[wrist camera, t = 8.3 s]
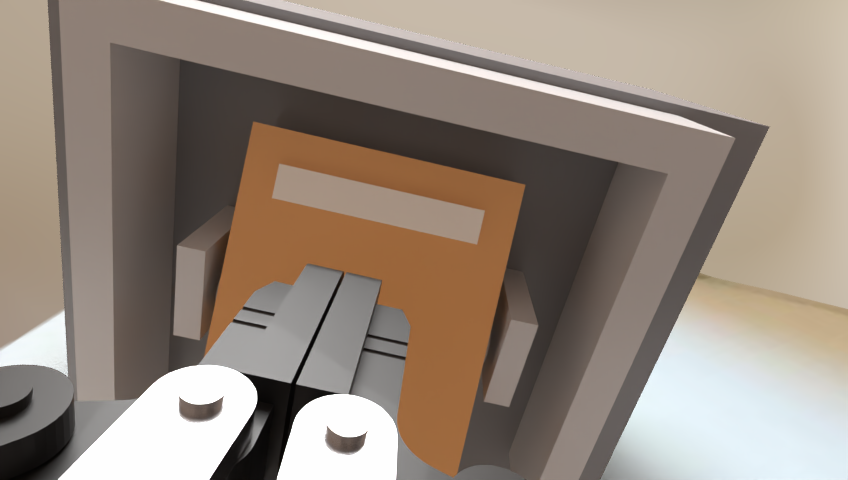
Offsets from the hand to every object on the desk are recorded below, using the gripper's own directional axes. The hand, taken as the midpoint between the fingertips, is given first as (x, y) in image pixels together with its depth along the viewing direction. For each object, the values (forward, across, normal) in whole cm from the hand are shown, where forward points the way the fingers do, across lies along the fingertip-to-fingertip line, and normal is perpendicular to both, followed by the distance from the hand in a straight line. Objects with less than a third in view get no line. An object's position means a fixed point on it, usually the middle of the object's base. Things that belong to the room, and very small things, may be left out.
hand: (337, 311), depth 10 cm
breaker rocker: (+3, 0, +8) cm, 8 cm away
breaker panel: (+11, 0, +13) cm, 17 cm away
